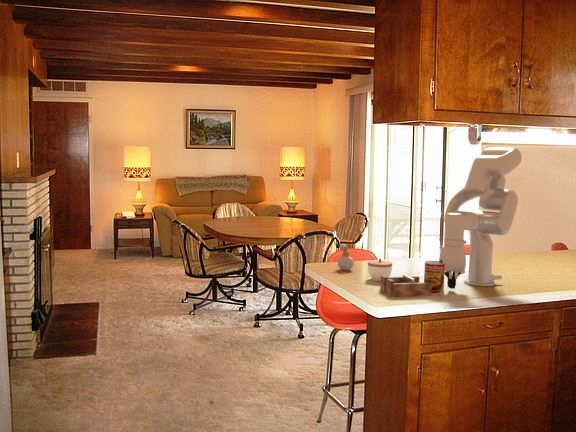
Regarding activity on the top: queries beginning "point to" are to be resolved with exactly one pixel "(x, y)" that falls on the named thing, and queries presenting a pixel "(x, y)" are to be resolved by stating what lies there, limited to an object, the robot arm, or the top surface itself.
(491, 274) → the robot arm
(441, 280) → the canned food
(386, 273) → the lidded jar
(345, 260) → the perfume bottle
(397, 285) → the brown wooden frame
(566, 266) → the top surface
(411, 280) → the pusher
